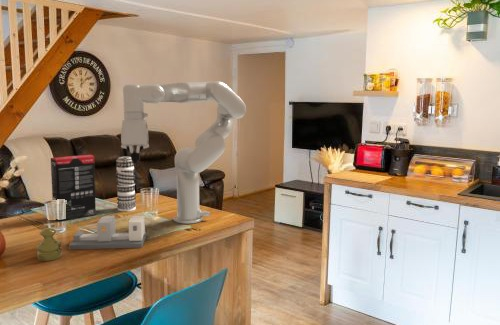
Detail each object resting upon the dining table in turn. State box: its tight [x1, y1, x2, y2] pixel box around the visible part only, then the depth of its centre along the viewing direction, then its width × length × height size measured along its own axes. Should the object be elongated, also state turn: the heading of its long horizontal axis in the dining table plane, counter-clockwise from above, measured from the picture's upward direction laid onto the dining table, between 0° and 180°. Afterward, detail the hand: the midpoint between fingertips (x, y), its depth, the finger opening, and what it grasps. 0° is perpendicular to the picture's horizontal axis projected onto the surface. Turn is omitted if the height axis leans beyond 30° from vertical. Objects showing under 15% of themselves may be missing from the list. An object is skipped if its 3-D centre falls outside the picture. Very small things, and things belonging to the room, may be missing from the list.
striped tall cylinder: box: [114, 155, 137, 212], centre depth 200 cm, size 9×9×25 cm
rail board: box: [68, 215, 148, 250], centre depth 156 cm, size 25×13×9 cm, turn 95°
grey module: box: [96, 215, 117, 242], centre depth 155 cm, size 4×9×7 cm, turn 6°
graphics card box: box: [50, 154, 97, 221], centre depth 186 cm, size 17×7×27 cm, turn 134°
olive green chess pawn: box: [36, 227, 63, 262], centre depth 141 cm, size 7×7×10 cm
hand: (135, 162), depth 169 cm, fingers closed
